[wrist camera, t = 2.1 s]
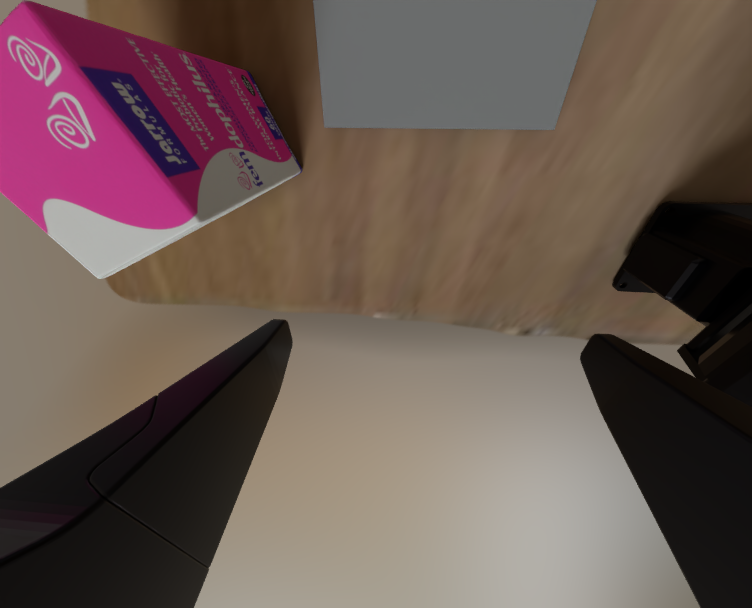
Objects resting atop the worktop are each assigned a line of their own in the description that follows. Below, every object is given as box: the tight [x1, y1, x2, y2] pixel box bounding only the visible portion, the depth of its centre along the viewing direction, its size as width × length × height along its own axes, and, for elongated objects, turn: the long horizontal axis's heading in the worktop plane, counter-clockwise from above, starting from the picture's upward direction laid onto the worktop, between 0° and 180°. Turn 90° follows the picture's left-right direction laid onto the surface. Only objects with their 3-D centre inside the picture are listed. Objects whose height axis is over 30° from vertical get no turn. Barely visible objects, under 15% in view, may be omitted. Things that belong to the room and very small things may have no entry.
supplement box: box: [0, 0, 302, 279], centre depth 13 cm, size 6×6×12 cm
